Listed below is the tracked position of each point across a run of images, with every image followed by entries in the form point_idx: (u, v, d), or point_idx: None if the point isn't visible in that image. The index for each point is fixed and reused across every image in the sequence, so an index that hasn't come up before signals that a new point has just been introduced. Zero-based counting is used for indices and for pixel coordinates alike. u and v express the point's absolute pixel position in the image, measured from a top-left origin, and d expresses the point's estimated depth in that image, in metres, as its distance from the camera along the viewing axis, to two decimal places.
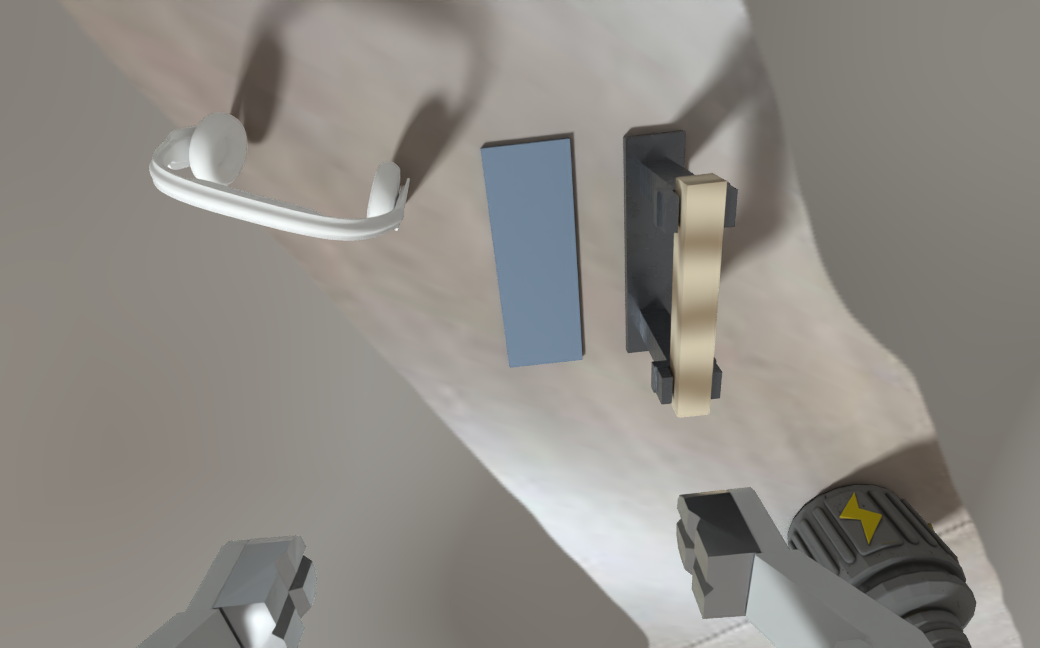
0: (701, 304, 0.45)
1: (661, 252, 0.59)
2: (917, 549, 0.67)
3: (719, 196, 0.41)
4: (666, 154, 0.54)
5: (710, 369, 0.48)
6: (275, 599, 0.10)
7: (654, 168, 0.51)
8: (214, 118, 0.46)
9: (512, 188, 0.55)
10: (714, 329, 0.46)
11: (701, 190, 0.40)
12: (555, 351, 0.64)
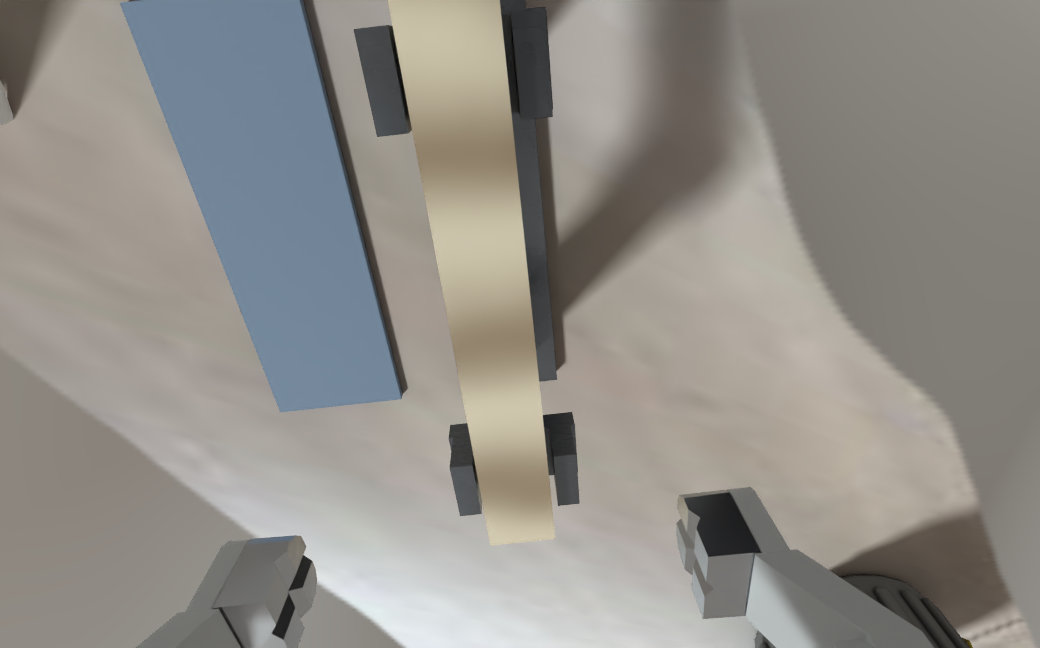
0: (491, 314, 0.19)
1: None
2: None
3: (482, 16, 0.15)
4: None
5: (541, 454, 0.22)
6: (275, 599, 0.10)
7: None
8: None
9: (205, 88, 0.29)
10: (535, 371, 0.20)
11: None
12: (352, 386, 0.38)
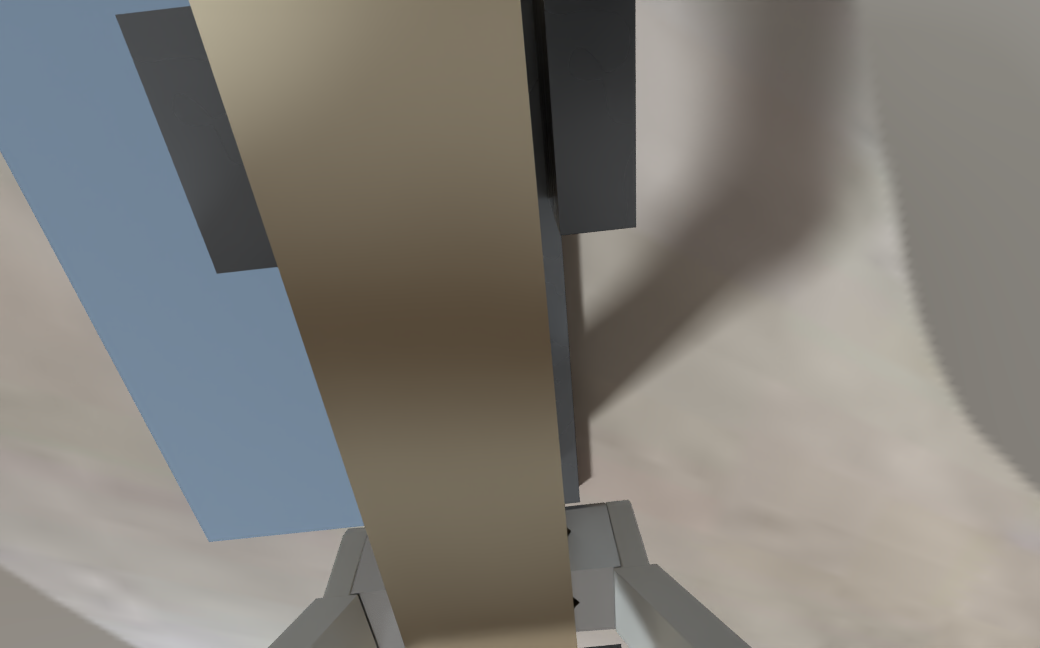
0: (489, 617, 0.09)
1: None
2: None
3: None
4: None
5: None
6: None
7: None
8: None
9: (62, 118, 0.19)
10: None
11: None
12: (304, 510, 0.28)
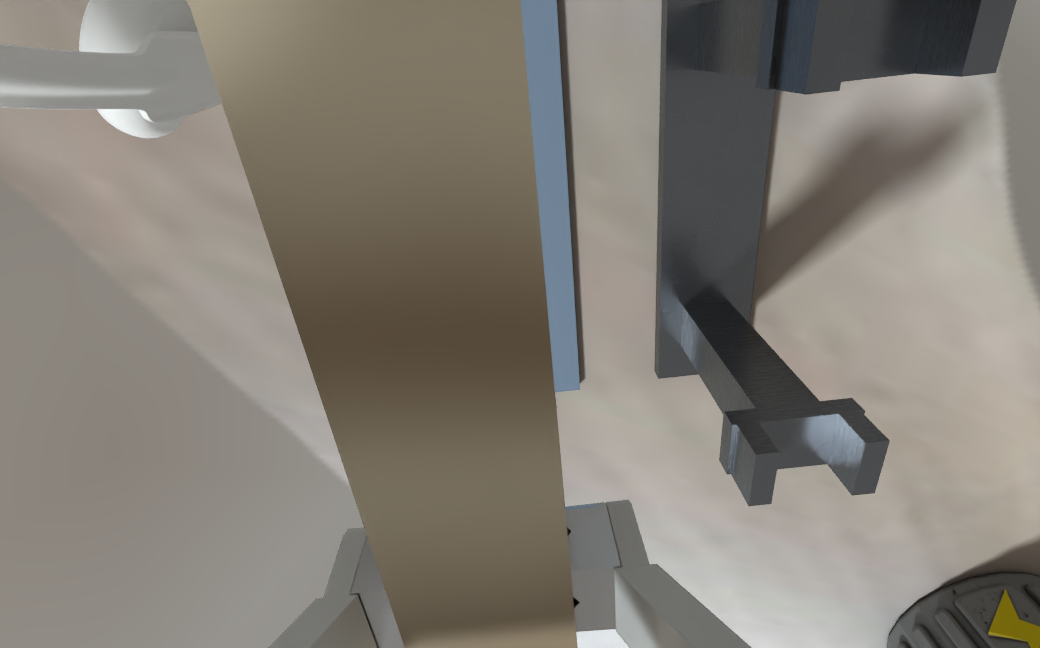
0: (490, 619, 0.09)
1: (727, 196, 0.31)
2: None
3: None
4: None
5: None
6: None
7: None
8: None
9: None
10: None
11: None
12: None
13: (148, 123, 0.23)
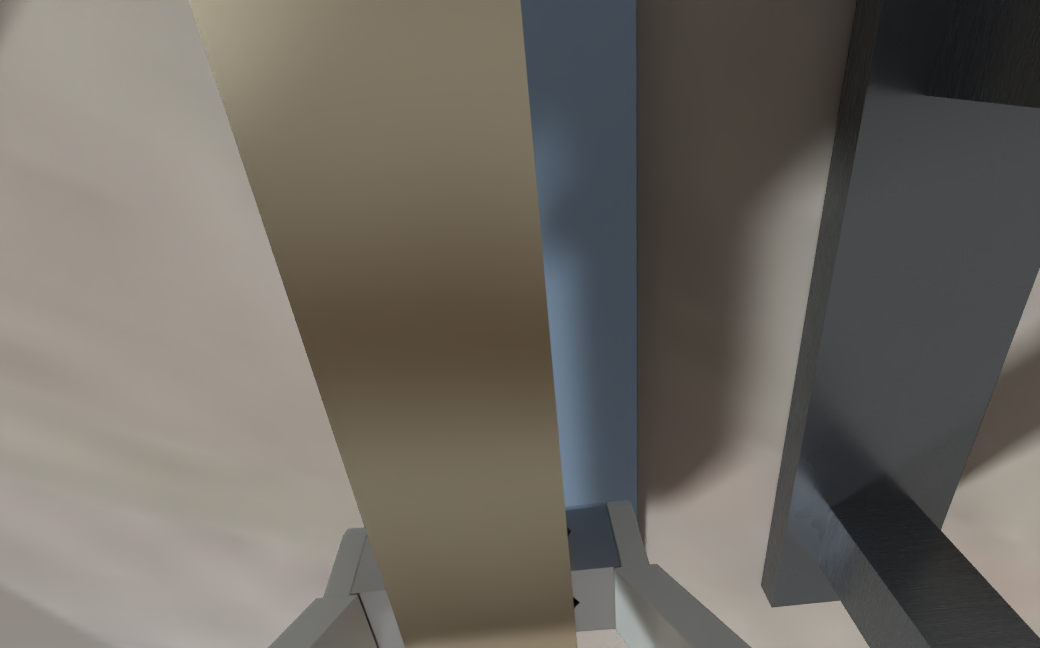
0: (490, 620, 0.09)
1: (946, 335, 0.16)
2: None
3: None
4: None
5: None
6: None
7: None
8: None
9: None
10: None
11: None
12: None
13: None
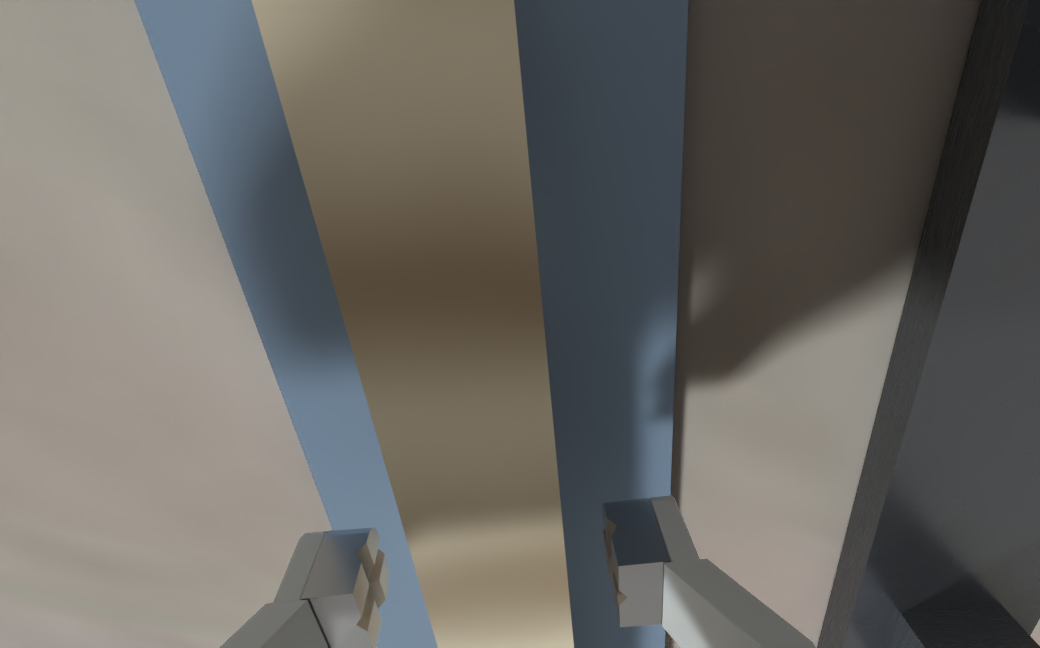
0: (490, 545, 0.10)
1: None
2: None
3: None
4: None
5: None
6: (360, 590, 0.10)
7: None
8: None
9: None
10: (566, 621, 0.12)
11: None
12: None
13: None
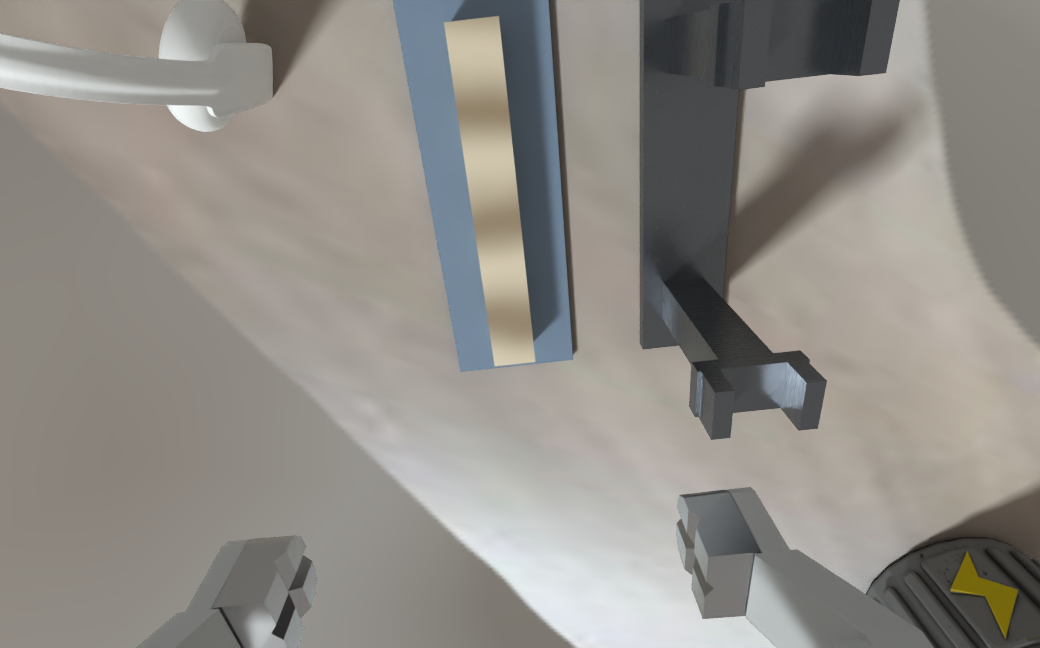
0: (496, 205, 0.33)
1: (700, 183, 0.36)
2: None
3: (492, 40, 0.29)
4: (714, 3, 0.31)
5: (525, 299, 0.36)
6: (275, 599, 0.10)
7: None
8: None
9: (450, 67, 0.32)
10: (521, 242, 0.35)
11: (464, 30, 0.29)
12: None
13: (208, 118, 0.27)
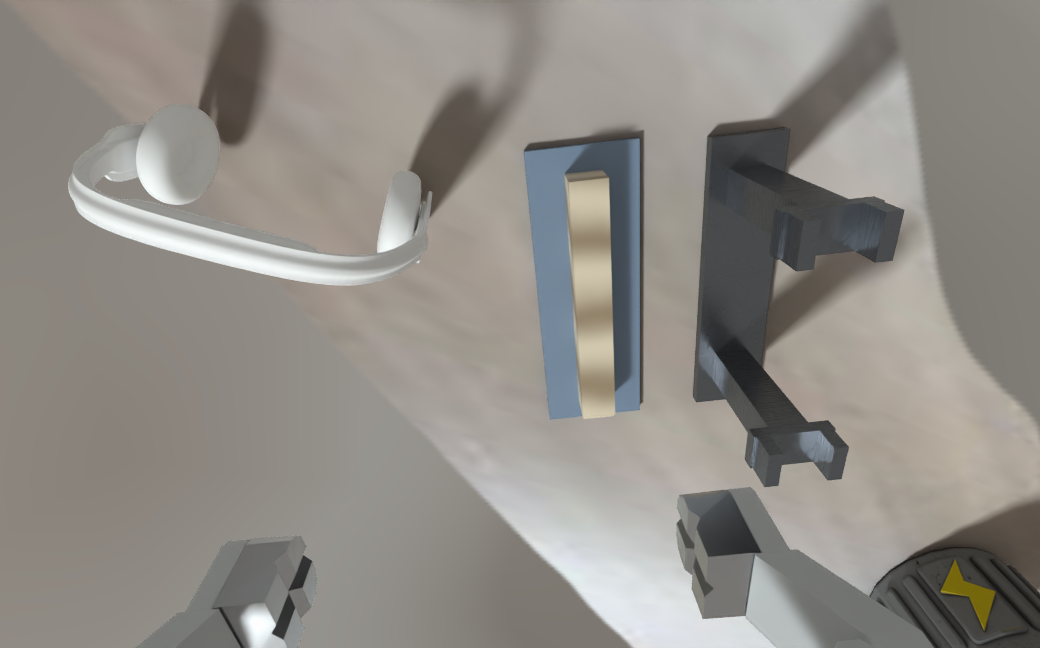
0: (595, 303, 0.44)
1: (747, 281, 0.47)
2: None
3: (602, 193, 0.40)
4: (763, 158, 0.42)
5: (611, 370, 0.47)
6: (275, 599, 0.10)
7: (754, 177, 0.39)
8: (171, 112, 0.33)
9: (562, 202, 0.43)
10: (611, 329, 0.45)
11: (583, 187, 0.40)
12: None
13: None
